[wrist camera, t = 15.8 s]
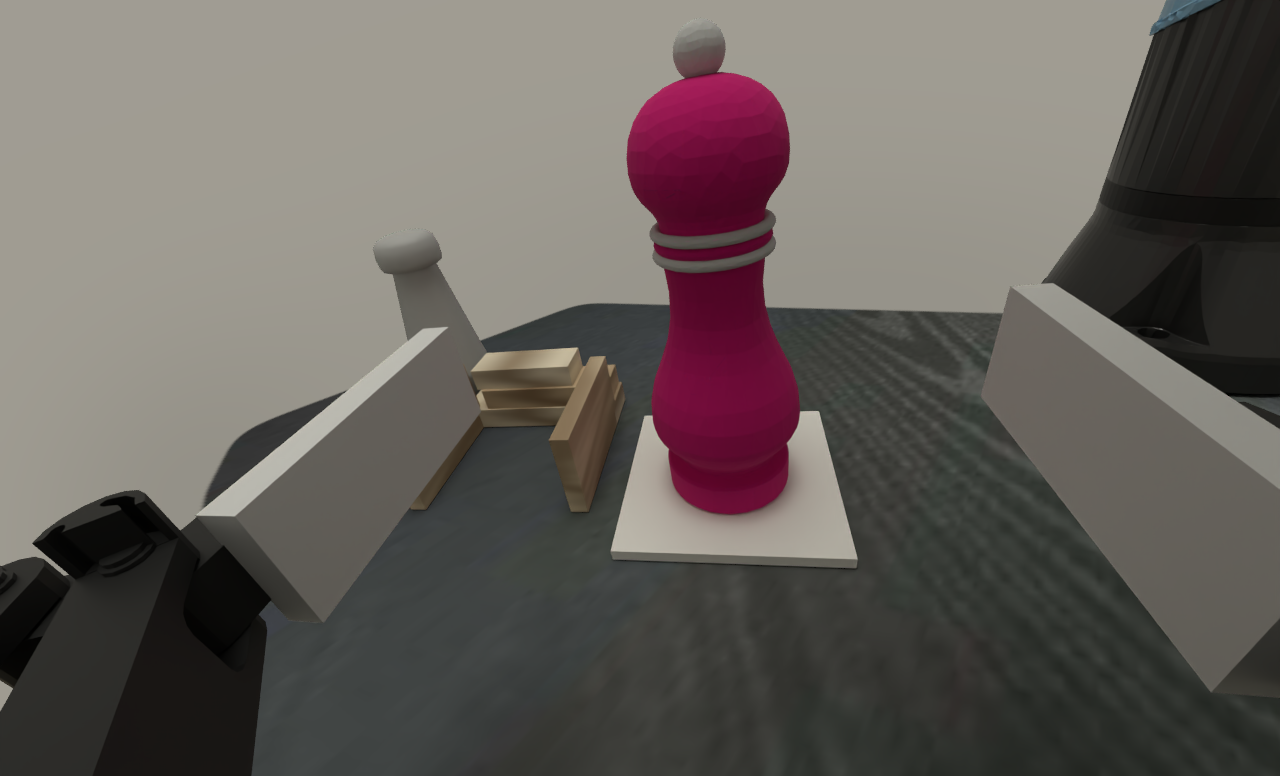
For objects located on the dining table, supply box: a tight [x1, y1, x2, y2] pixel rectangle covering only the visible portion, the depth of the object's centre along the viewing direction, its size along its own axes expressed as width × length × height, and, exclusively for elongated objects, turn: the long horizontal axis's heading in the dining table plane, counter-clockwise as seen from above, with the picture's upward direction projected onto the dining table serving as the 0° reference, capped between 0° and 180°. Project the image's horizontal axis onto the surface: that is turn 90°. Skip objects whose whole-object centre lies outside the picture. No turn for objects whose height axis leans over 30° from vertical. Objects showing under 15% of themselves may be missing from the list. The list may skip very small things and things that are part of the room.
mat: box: [611, 411, 858, 568], centre depth 26 cm, size 11×11×1 cm
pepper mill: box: [627, 19, 800, 514], centre depth 21 cm, size 7×7×20 cm
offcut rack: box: [410, 348, 625, 512], centre depth 31 cm, size 11×11×5 cm
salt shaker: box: [373, 229, 487, 396], centre depth 37 cm, size 6×6×13 cm
